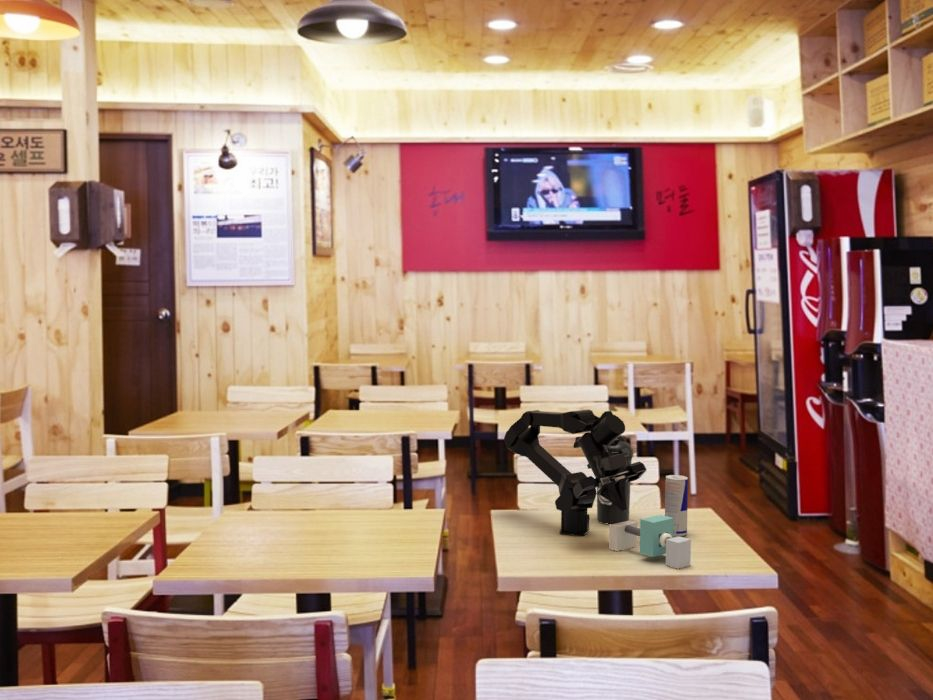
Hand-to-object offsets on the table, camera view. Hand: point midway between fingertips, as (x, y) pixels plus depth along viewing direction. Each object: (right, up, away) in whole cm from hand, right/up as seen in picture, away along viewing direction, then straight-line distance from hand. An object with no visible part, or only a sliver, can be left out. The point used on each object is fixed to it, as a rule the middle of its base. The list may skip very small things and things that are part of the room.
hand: (624, 510), depth 217 cm
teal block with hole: (+6, -8, -8) cm, 13 cm away
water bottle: (+1, -8, +26) cm, 27 cm away
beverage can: (+15, -9, +13) cm, 22 cm away
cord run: (+5, -10, -6) cm, 12 cm away
